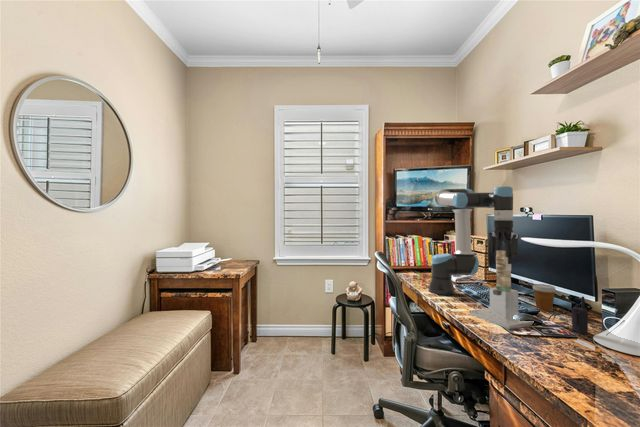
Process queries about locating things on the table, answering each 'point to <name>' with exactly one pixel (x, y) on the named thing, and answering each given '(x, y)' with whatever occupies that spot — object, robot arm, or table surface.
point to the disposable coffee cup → (544, 296)
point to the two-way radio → (580, 318)
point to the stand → (502, 309)
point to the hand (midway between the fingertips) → (503, 269)
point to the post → (502, 272)
